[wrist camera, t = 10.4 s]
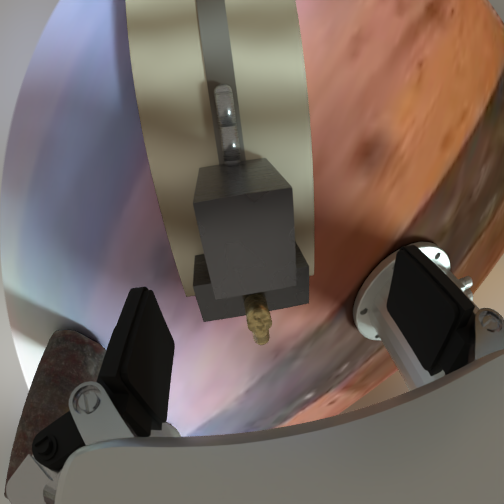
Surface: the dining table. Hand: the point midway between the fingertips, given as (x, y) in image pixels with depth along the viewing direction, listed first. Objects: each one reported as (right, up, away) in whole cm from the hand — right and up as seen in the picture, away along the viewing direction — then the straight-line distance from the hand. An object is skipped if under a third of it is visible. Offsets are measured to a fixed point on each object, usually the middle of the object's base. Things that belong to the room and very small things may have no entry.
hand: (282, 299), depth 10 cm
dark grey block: (-2, +7, +6) cm, 9 cm away
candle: (-19, -8, +15) cm, 26 cm away
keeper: (-1, 0, +10) cm, 10 cm away
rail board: (-3, +11, +6) cm, 13 cm away
